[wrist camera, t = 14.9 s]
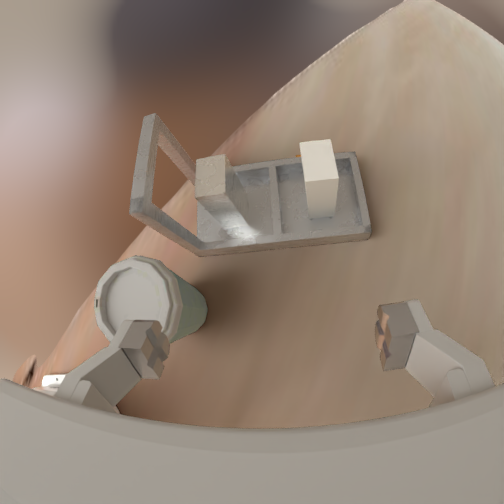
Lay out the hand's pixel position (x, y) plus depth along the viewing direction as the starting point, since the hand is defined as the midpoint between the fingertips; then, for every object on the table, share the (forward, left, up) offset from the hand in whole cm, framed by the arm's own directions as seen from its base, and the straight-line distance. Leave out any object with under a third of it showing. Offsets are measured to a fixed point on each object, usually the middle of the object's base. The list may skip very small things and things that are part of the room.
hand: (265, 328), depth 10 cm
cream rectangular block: (+4, +17, -28) cm, 32 cm away
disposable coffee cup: (-16, +3, -29) cm, 33 cm away
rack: (-2, +17, -29) cm, 33 cm away
